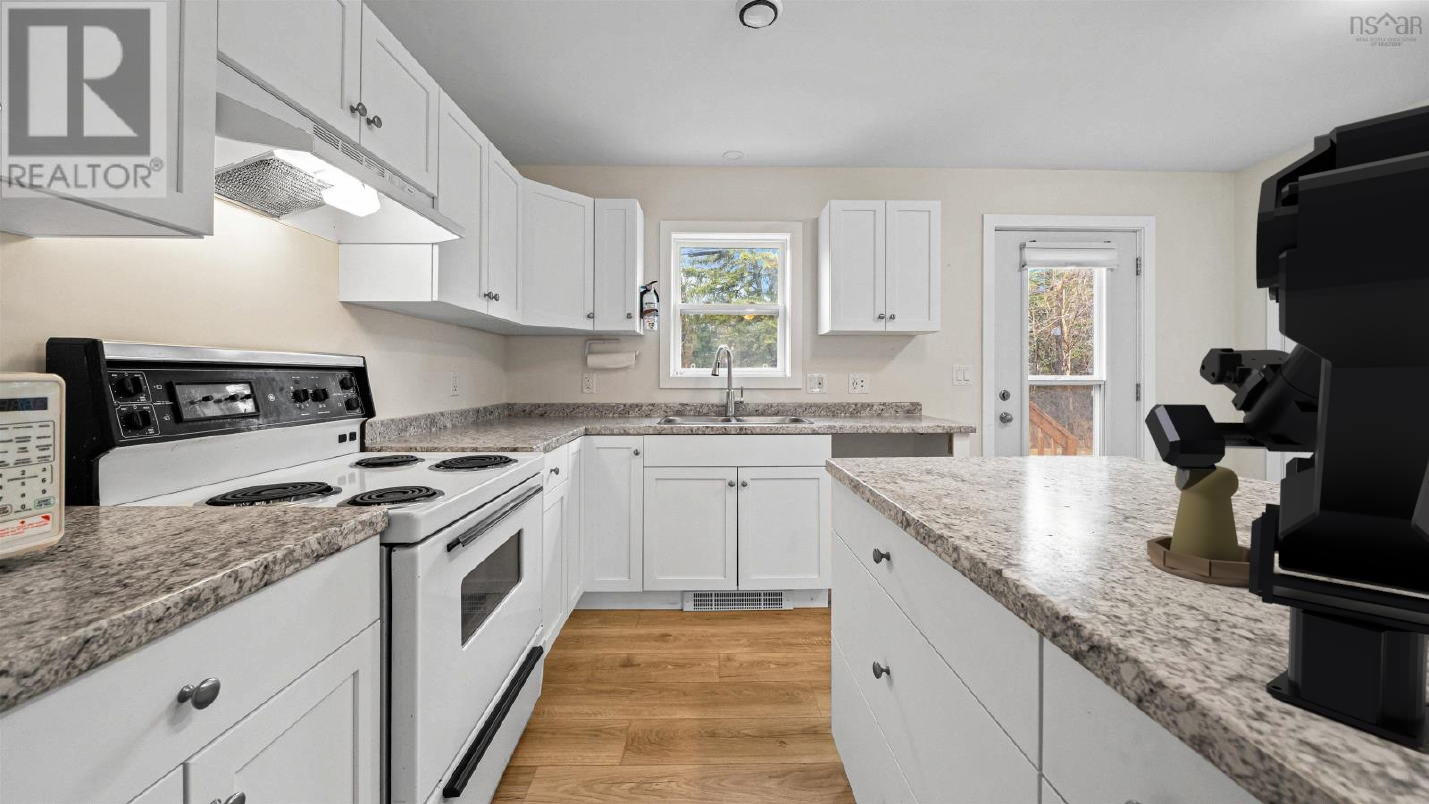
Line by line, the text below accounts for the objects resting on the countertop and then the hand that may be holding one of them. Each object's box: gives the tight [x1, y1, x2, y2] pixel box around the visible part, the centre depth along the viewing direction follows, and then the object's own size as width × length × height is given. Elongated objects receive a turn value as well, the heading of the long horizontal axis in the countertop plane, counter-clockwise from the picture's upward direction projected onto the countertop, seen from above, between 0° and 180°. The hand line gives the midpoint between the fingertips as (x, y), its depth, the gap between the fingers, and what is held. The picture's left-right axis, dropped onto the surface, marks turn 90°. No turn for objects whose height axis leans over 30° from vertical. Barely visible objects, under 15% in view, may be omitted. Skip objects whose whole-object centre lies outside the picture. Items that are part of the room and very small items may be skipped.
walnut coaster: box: [1146, 535, 1250, 588], centre depth 59 cm, size 10×10×2 cm
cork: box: [1170, 464, 1241, 562], centre depth 59 cm, size 6×6×11 cm
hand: (1235, 488), depth 54 cm, fingers open, 9 cm apart
